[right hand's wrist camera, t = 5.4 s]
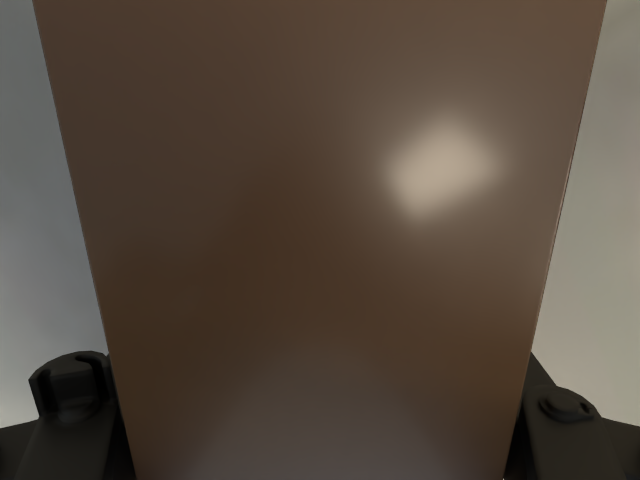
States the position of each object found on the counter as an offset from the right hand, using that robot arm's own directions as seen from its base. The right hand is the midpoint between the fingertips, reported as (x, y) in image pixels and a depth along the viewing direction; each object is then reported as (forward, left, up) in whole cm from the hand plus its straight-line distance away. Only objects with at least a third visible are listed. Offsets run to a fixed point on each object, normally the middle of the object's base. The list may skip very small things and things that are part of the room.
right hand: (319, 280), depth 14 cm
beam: (+6, -18, -1) cm, 18 cm away
